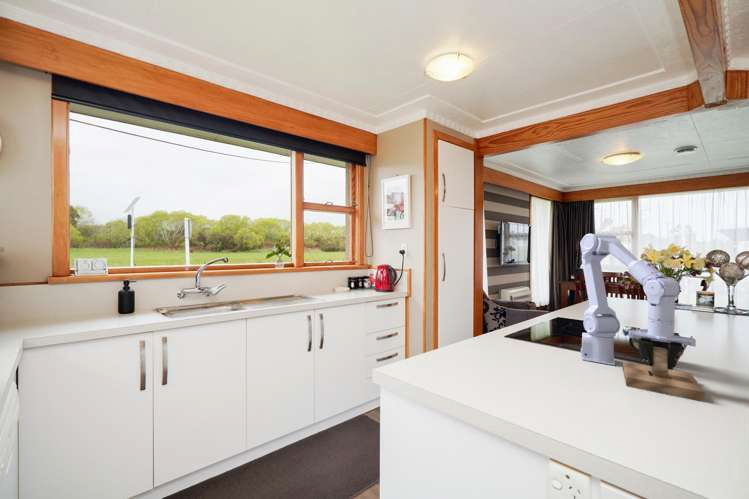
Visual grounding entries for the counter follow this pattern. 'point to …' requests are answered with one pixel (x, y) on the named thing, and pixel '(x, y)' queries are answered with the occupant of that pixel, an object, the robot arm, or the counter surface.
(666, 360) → the peg
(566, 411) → the counter surface
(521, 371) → the counter surface
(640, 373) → the board
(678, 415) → the counter surface
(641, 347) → the mug
